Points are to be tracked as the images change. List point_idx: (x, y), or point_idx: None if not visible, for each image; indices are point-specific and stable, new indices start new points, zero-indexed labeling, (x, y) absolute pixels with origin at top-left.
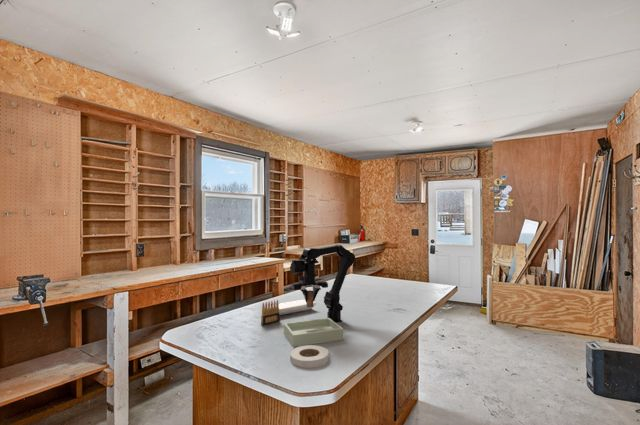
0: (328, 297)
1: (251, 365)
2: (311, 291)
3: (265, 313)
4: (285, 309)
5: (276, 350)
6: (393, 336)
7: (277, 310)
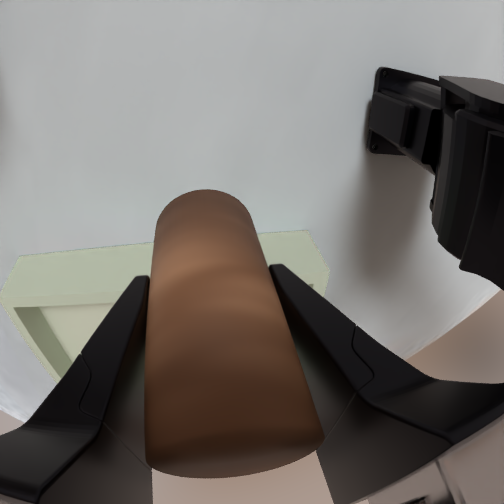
0: (499, 231)
1: (14, 407)
2: (261, 467)
3: None
4: None
5: (39, 378)
6: (427, 343)
7: None
